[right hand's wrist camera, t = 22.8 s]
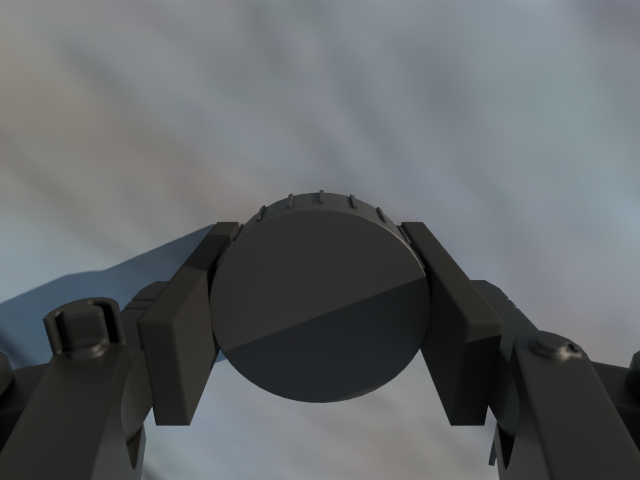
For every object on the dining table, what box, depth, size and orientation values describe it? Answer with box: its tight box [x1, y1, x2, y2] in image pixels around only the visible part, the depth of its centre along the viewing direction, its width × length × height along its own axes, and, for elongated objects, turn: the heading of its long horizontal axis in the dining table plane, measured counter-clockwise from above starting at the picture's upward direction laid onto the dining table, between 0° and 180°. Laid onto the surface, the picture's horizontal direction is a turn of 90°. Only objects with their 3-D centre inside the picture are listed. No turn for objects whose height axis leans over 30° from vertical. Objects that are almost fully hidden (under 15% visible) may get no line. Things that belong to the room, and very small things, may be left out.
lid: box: [209, 190, 431, 403], centre depth 11 cm, size 6×6×2 cm
